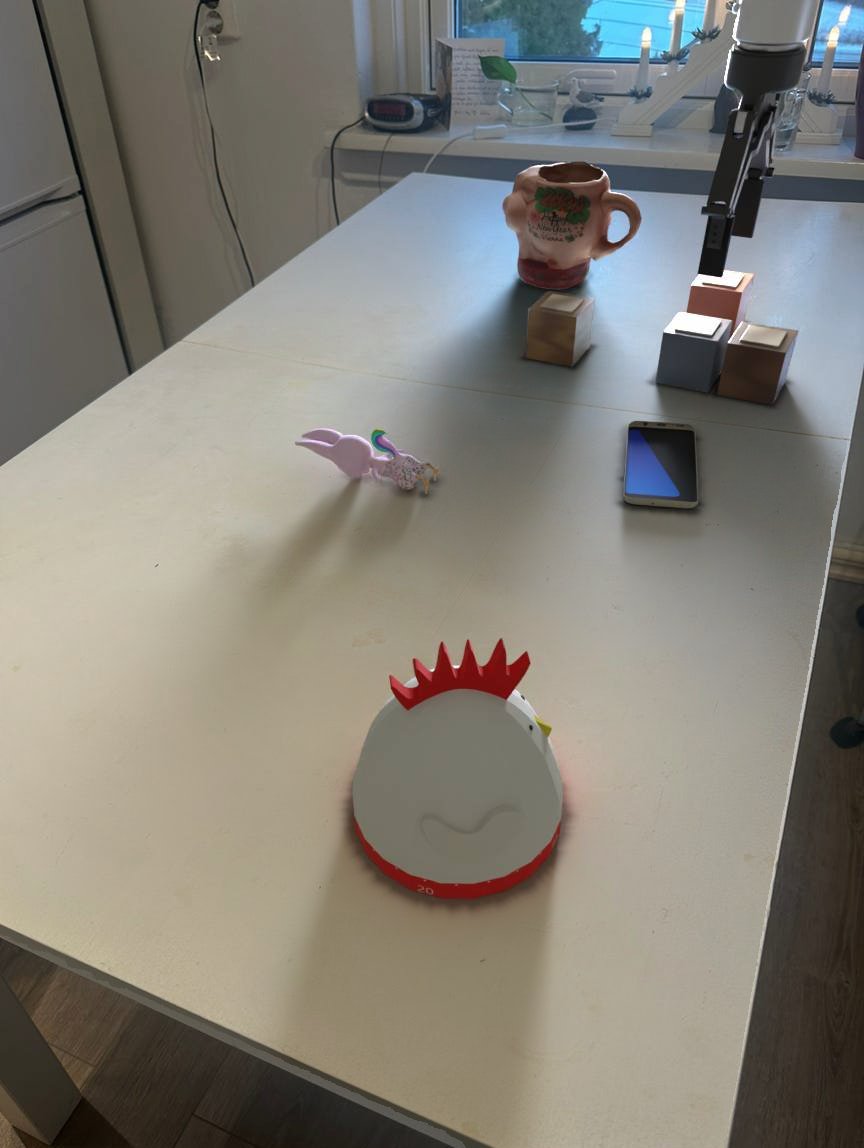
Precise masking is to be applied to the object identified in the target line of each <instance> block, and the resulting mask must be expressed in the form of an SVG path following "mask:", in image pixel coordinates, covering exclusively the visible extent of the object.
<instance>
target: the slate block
mask: <svg viewBox="0 0 864 1148" xmlns="http://www.w3.org/2000/svg"><path fill="white" fill-rule="evenodd" d="M731 326H732V320H728V319H721V318H715V317H709V316H702V315H696V314H690V313H686V312H683V311H679V312H678V313H677V314H676V315H675V316H674V318H673V319H672V321H671V322H670V323H669V325H667V327H666V328H665V329H664V331H663V332H662V338H661V343H660V344H661V345H660V350H659V356H658V363H657V368H656V375H655V382H654V383H656V384H661V385H666V386H671V387H678V388H681V389H686V390H687V389H688V390H693V391H698V392H703V393H708V392H709V391H710V390H711V388H712V387H713V385H714V383H715V382H716V380H717V379H718V377H719V375H721V373H722V368H723V363H724V358H725V354H726V349H727V344H728V342H729V341H728V340H729V335H730V331H731Z"/></svg>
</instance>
